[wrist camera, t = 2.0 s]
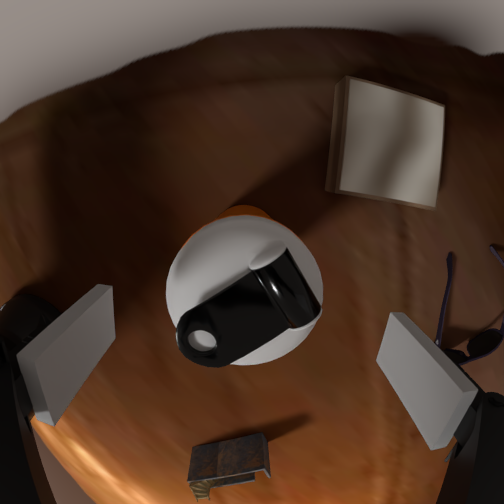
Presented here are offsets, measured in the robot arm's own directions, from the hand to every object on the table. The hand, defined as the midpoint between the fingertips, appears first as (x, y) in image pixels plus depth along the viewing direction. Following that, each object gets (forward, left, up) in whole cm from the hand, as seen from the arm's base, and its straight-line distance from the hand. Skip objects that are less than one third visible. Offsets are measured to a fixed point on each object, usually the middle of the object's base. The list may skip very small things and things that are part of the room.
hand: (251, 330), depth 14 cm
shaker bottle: (0, 0, -21) cm, 21 cm away
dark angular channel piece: (+1, -32, -22) cm, 39 cm away
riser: (+14, +12, -21) cm, 28 cm away
